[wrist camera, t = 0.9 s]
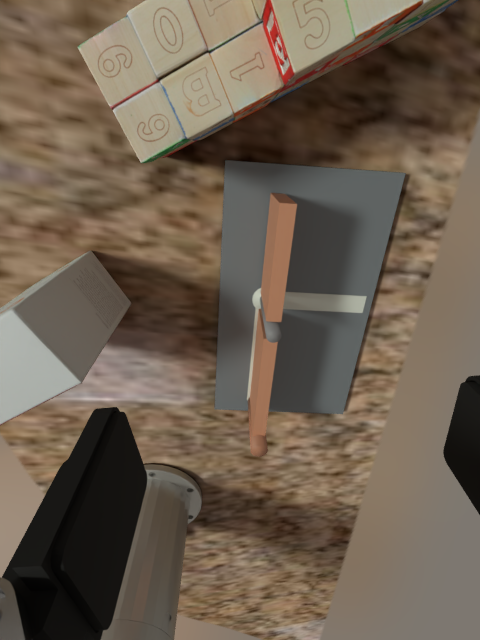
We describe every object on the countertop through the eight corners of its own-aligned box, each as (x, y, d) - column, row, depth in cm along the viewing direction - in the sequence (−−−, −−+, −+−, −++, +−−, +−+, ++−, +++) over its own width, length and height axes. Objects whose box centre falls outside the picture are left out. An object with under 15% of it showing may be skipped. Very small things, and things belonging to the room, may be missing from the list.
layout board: (341, 410, 40) (343, 414, 40) (214, 405, 40) (214, 409, 39) (402, 172, 29) (405, 173, 28) (225, 159, 28) (225, 160, 28)
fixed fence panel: (261, 406, 39) (266, 456, 33) (247, 405, 39) (250, 456, 33) (272, 309, 34) (282, 346, 27) (256, 308, 34) (262, 345, 27)
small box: (71, 338, 35) (-8, 431, 24) (26, 288, 33) (-87, 365, 21) (134, 303, 34) (83, 384, 22) (92, 248, 31) (9, 306, 20)
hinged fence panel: (271, 305, 33) (280, 343, 27) (259, 305, 33) (265, 342, 27) (284, 193, 29) (299, 206, 22) (270, 192, 29) (281, 205, 22)
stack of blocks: (166, 160, 28) (123, 167, 17) (124, 76, 26) (42, 22, 15) (424, 24, 25) (581, -77, 14) (406, -90, 22) (580, -329, 11)
